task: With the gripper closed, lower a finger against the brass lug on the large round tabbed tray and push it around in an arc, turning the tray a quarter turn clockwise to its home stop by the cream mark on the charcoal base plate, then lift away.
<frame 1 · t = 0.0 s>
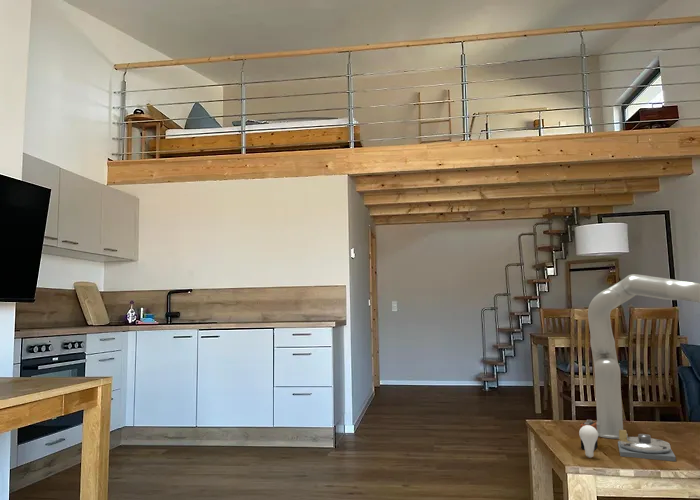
lightbulb: (589, 458, 191), on the table
base plate: (645, 452, 197), on the table
round tabbed tray: (644, 439, 198), point 5 cm above the table, hinge at 0.0°
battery: (589, 449, 204), on the table
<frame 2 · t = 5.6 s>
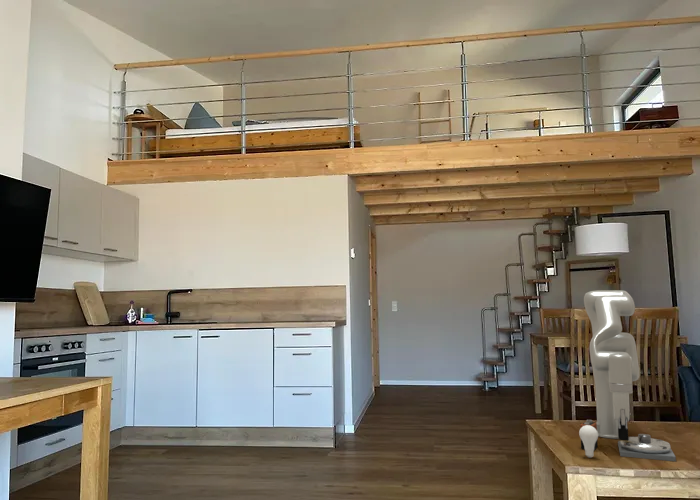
hand: (623, 439, 198), 5 cm above the table, tool pointing down, fingers closed
round tabbed tray: (644, 439, 198), point 5 cm above the table, hinge at -0.2°, touching gripper
everything else where it was.
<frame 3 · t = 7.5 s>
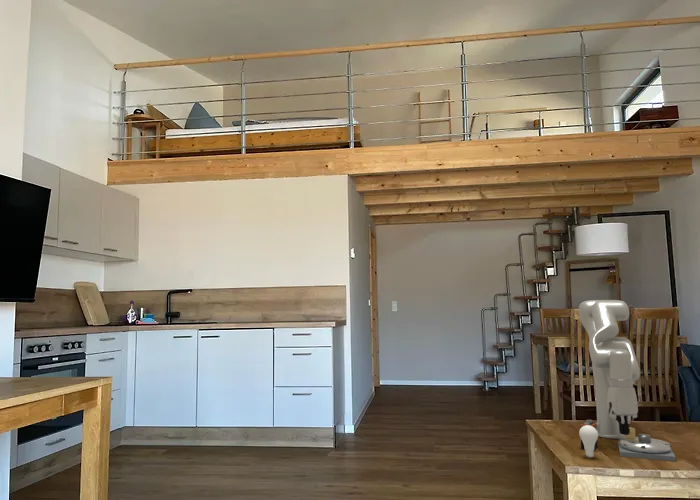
hand: (624, 434, 204), 5 cm above the table, tool pointing down, fingers closed
round tabbed tray: (644, 439, 198), point 5 cm above the table, hinge at -53.0°, touching gripper
everything else where it was.
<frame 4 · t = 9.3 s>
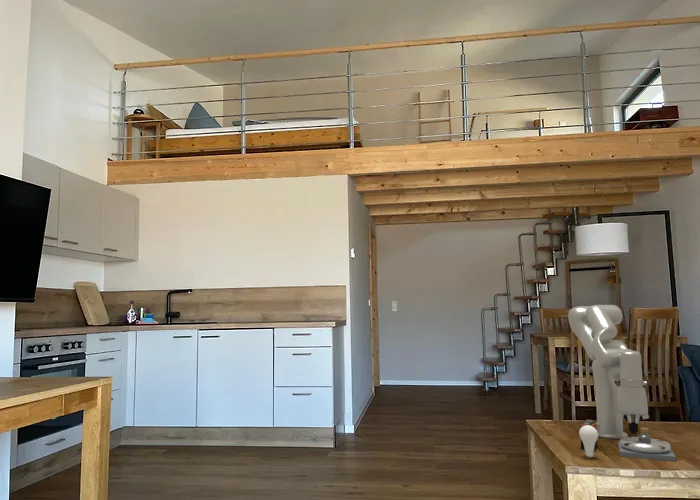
hand: (633, 433, 206), 5 cm above the table, tool pointing down, fingers closed
round tabbed tray: (644, 439, 198), point 5 cm above the table, hinge at -94.8°
everything else where it was.
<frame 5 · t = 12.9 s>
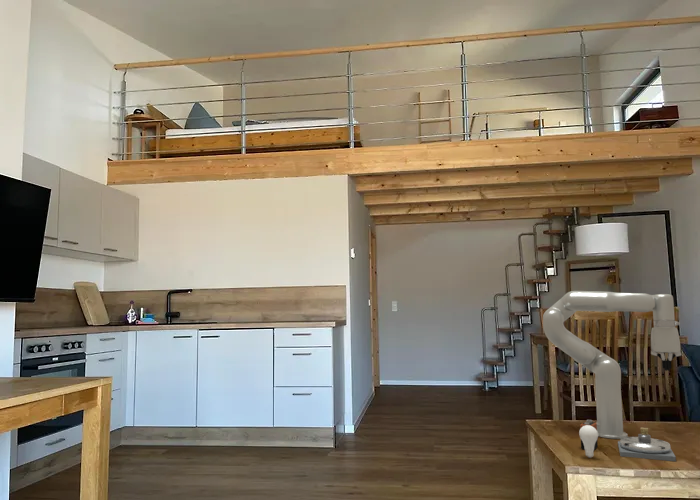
hand: (667, 370, 220), 27 cm above the table, tool pointing down, fingers closed
nothing on the table moved.
at the end: round tabbed tray at -95° (first picture: +0°) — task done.
